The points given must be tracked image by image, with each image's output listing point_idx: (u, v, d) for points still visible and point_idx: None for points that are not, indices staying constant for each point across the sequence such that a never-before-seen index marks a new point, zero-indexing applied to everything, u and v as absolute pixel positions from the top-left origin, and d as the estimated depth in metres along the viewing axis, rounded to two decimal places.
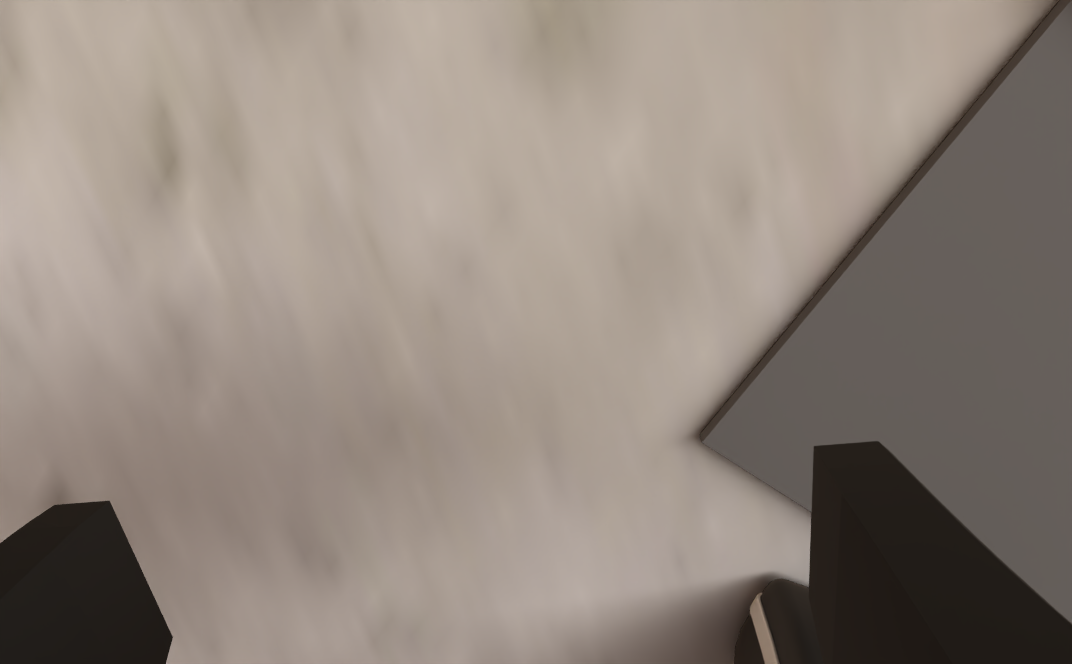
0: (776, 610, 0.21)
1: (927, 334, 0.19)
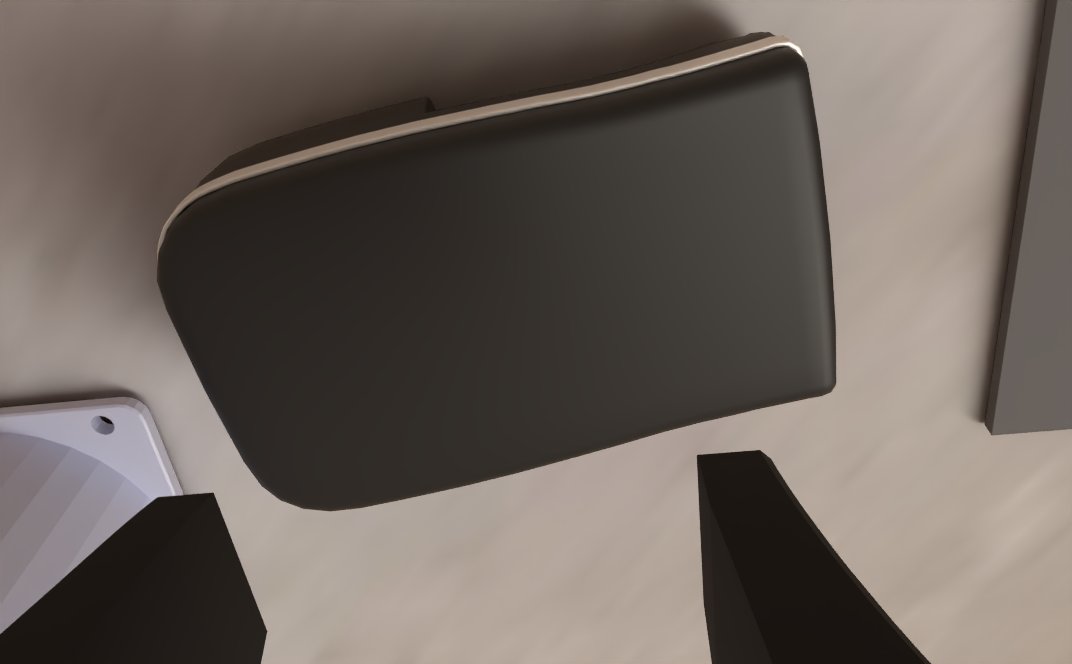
0: (736, 69, 0.14)
1: None
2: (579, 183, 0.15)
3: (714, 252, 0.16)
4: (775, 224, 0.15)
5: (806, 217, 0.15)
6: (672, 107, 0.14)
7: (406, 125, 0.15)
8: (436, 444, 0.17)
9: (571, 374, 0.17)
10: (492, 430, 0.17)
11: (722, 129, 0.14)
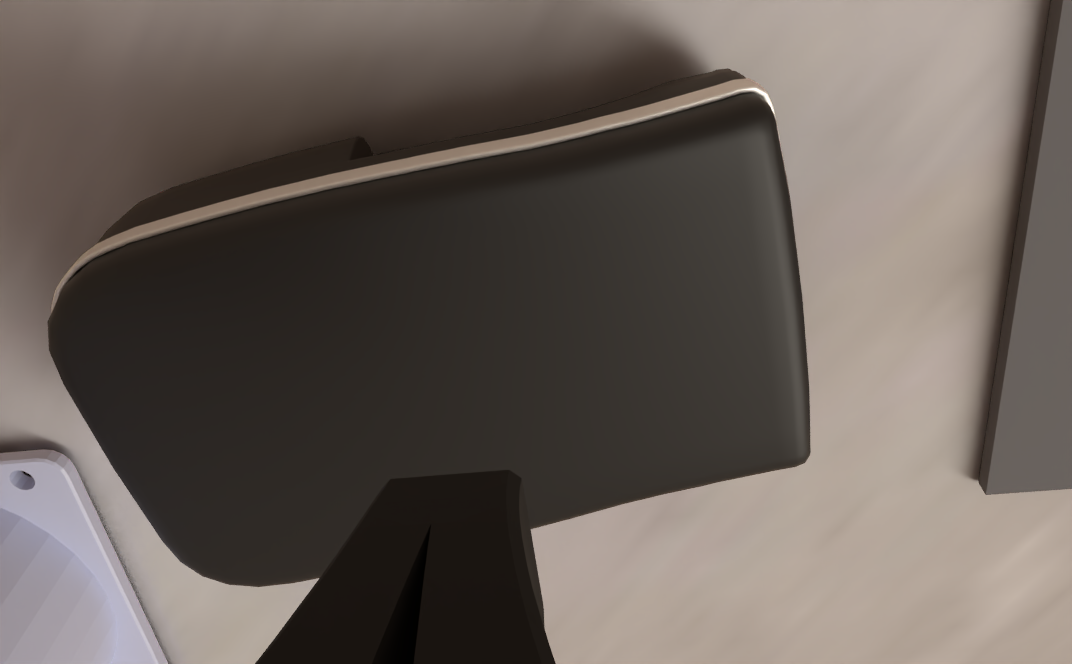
0: (694, 119, 0.13)
1: None
2: (517, 246, 0.13)
3: (672, 318, 0.14)
4: (740, 289, 0.14)
5: (775, 281, 0.14)
6: (621, 163, 0.13)
7: (324, 178, 0.13)
8: None
9: (516, 446, 0.15)
10: None
11: (678, 187, 0.13)
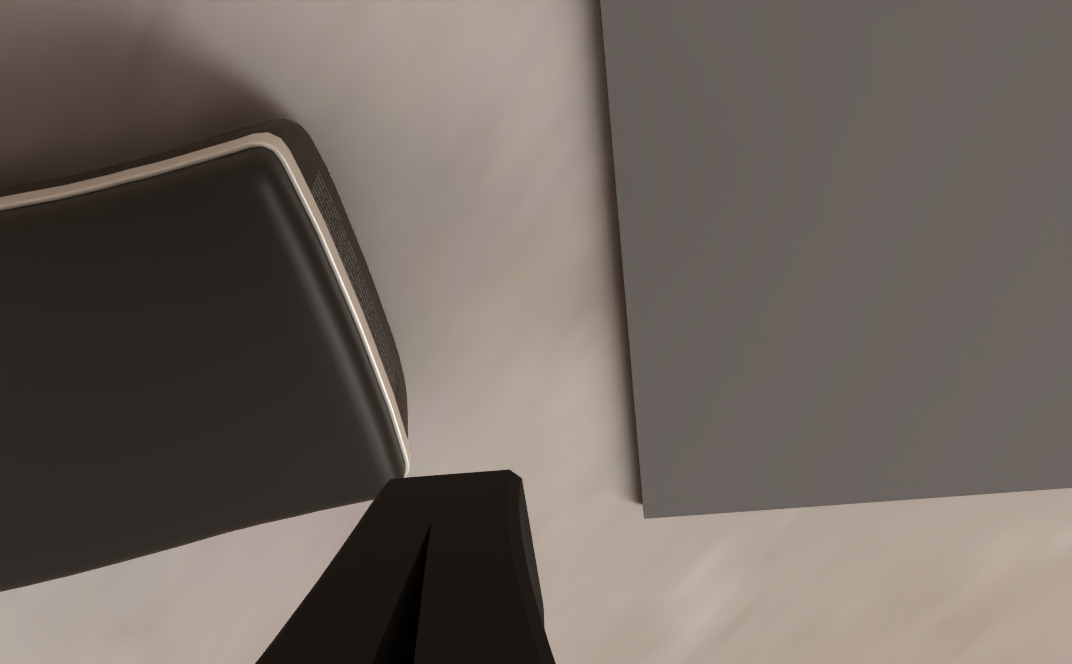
0: (197, 173, 0.13)
1: None
2: (45, 292, 0.14)
3: (219, 359, 0.15)
4: (278, 331, 0.14)
5: (311, 324, 0.14)
6: (127, 215, 0.13)
7: None
8: None
9: (101, 478, 0.16)
10: (33, 534, 0.16)
11: (187, 237, 0.13)
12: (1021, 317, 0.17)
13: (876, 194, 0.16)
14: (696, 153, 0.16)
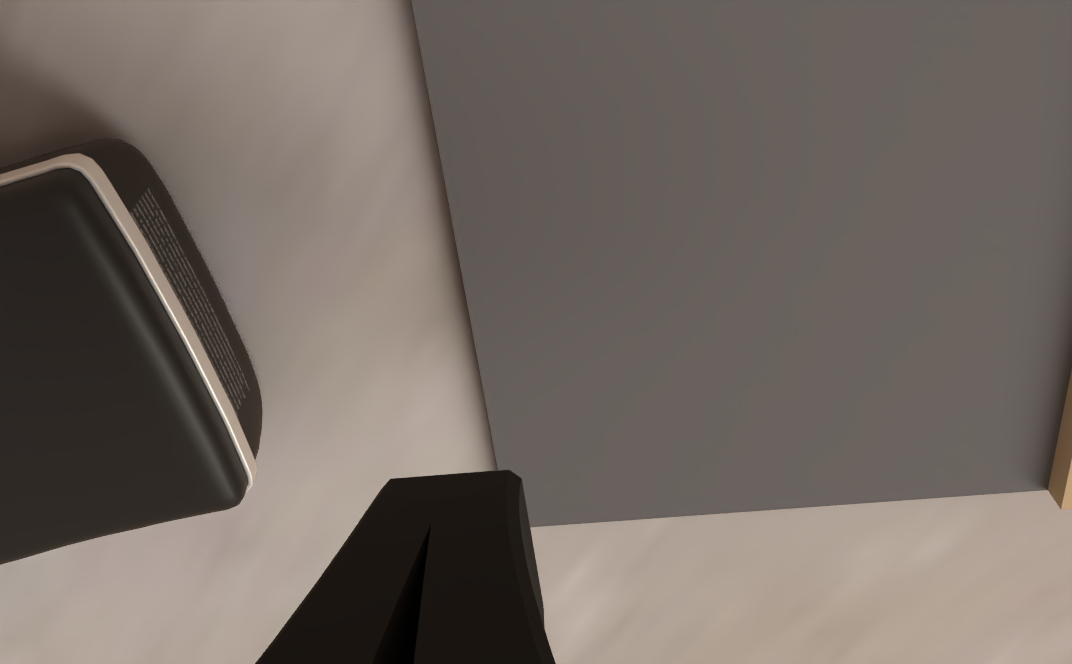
0: (2, 194, 0.14)
1: None
2: None
3: (41, 375, 0.15)
4: (96, 348, 0.15)
5: (128, 341, 0.15)
6: None
7: None
8: None
9: None
10: None
11: None
12: (859, 331, 0.17)
13: (705, 211, 0.16)
14: (524, 170, 0.16)
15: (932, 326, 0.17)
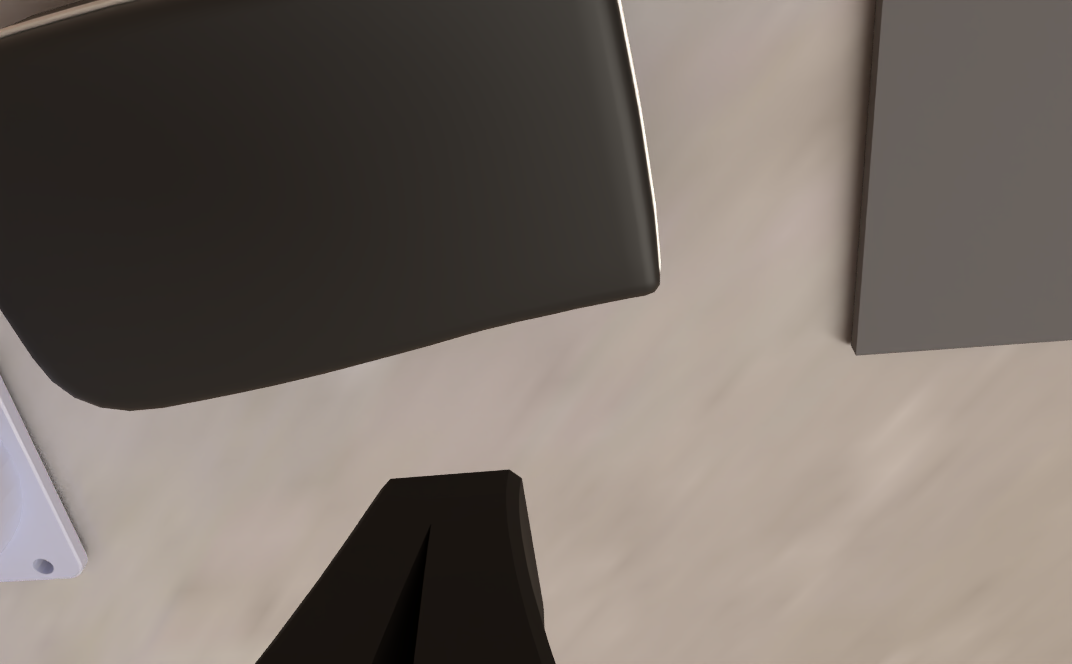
0: None
1: None
2: (353, 46, 0.14)
3: (510, 129, 0.14)
4: (574, 99, 0.14)
5: (607, 92, 0.14)
6: None
7: None
8: (232, 339, 0.16)
9: (369, 263, 0.16)
10: (291, 324, 0.16)
11: None
12: None
13: None
14: None
15: None
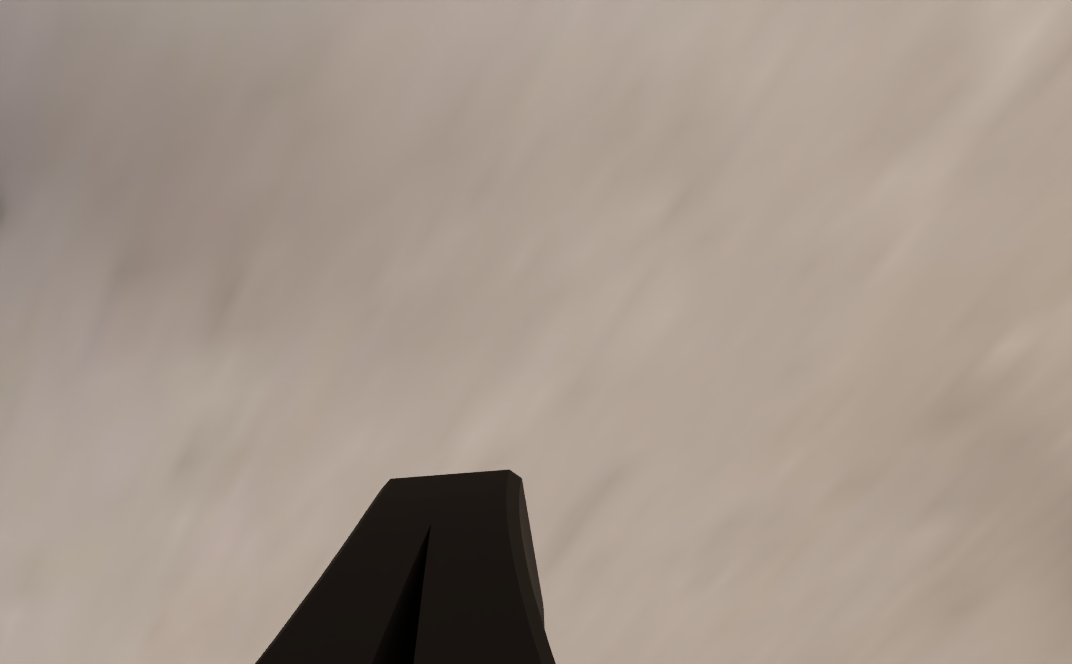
0: None
1: None
2: None
3: None
4: None
5: None
6: None
7: None
8: None
9: None
10: None
11: None
12: None
13: None
14: None
15: None
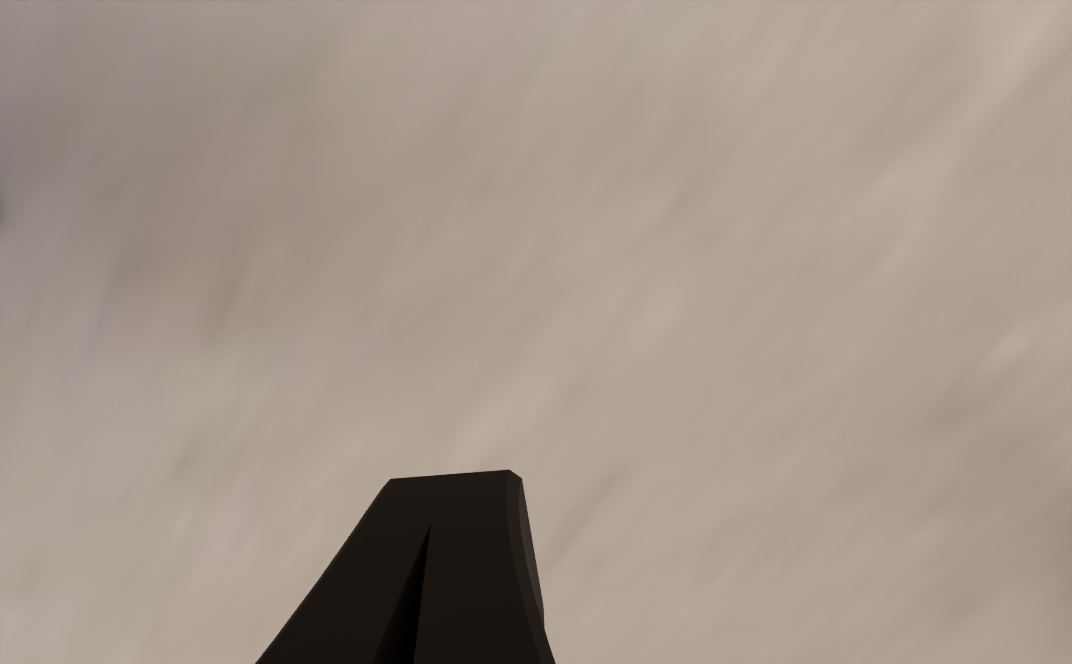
0: None
1: None
2: None
3: None
4: None
5: None
6: None
7: None
8: None
9: None
10: None
11: None
12: None
13: None
14: None
15: None
